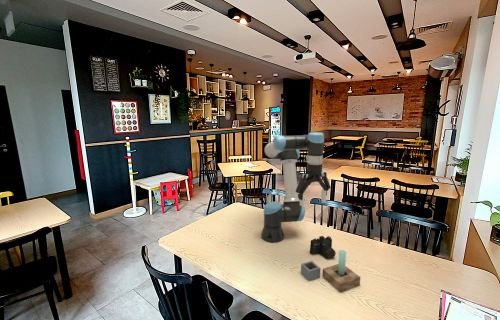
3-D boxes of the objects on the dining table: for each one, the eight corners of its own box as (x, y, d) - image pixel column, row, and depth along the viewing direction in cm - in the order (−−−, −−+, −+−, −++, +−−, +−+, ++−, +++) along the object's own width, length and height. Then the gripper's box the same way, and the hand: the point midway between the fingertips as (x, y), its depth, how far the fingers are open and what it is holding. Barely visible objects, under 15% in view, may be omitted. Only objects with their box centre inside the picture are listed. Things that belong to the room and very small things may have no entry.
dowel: (335, 281, 114) (337, 250, 111) (340, 279, 115) (342, 249, 112) (340, 285, 111) (342, 254, 108) (345, 283, 112) (347, 252, 110)
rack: (322, 277, 116) (322, 268, 115) (340, 271, 121) (341, 262, 120) (340, 294, 105) (340, 284, 105) (359, 286, 110) (360, 277, 109)
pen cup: (300, 274, 119) (301, 263, 118) (311, 271, 121) (311, 260, 120) (308, 282, 113) (309, 271, 112) (319, 279, 115) (320, 268, 114)
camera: (318, 263, 128) (319, 246, 126) (307, 252, 138) (308, 237, 136) (339, 258, 132) (340, 242, 131) (328, 249, 142) (328, 233, 141)
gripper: (298, 166, 109) (296, 210, 112) (339, 162, 118) (336, 202, 122) (289, 164, 116) (288, 204, 119) (329, 160, 125) (326, 198, 129)
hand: (312, 203), depth 121 cm, fingers open, 13 cm apart
